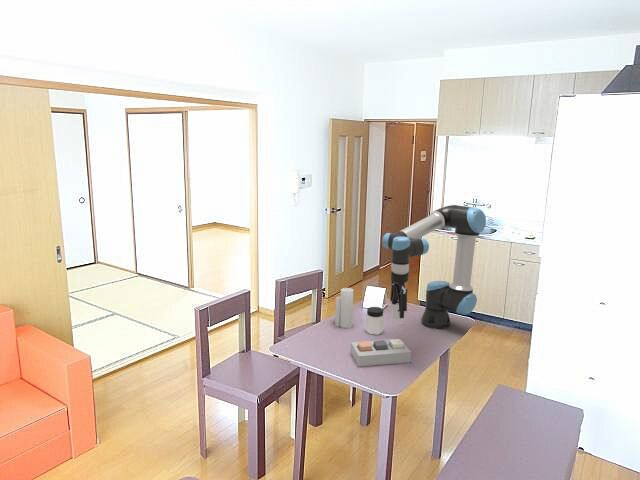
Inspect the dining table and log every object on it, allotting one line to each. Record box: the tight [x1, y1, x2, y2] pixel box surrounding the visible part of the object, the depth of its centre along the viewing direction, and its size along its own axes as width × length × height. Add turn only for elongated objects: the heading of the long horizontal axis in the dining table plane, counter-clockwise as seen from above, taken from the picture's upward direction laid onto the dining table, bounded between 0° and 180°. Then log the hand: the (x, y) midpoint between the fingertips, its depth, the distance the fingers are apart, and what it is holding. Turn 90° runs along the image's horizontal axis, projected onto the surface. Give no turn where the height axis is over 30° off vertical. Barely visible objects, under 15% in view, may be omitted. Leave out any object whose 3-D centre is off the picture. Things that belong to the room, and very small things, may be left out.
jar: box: [365, 306, 385, 336], centre depth 242 cm, size 9×8×12 cm
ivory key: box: [388, 338, 405, 349], centre depth 215 cm, size 5×5×3 cm
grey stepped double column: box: [334, 287, 354, 329], centre depth 249 cm, size 11×7×20 cm, turn 48°
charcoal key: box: [373, 339, 388, 350], centre depth 214 cm, size 5×5×3 cm
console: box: [350, 338, 412, 368], centre depth 214 cm, size 24×14×5 cm, turn 101°
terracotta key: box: [357, 340, 372, 352], centre depth 212 cm, size 5×5×3 cm
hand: (397, 320), depth 213 cm, fingers open, 7 cm apart
